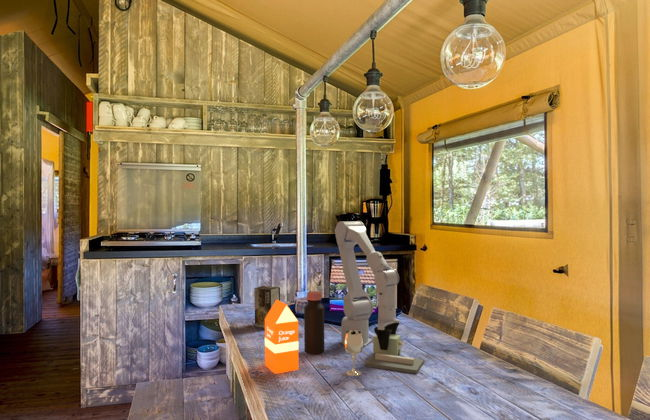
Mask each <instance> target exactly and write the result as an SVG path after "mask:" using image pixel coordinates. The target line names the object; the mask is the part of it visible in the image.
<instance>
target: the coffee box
mask: <svg viewBox="0 0 650 420" xmlns="http://www.w3.org/2000/svg"><path fill="white" fill-rule="evenodd" d="M253 289H254V292H253V293H254V327H256V328H263V329H265V318H266V316H267V314H268V313H269V311H270V309H271V308H272V306H273V304H274V303H275V301H276V299H277V300H279V301H281V287H280V286H272V285H261V286H258V287H254V288H253Z"/></svg>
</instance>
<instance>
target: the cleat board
mask: <svg viewBox="0 0 650 420" xmlns="http://www.w3.org/2000/svg"><path fill="white" fill-rule="evenodd" d="M424 361H425V360H424V359H422V358H414V357H408V356H400V355H398V356H394V355H386V354H379V353H374V354H372V355H371V356H370V357H368V359H367V360H366V361H365V362H364V367H368V368H377V369H382V370H383V369H385V370H388V371H389V370H390V371H397V372H404V373H410V374H418V372H420V369H421V368H422V366H423V365H424V364H425V362H424Z"/></svg>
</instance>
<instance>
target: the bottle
mask: <svg viewBox="0 0 650 420" xmlns="http://www.w3.org/2000/svg"><path fill="white" fill-rule="evenodd" d="M306 300H307V303H306V305H305V306H304V308H303V309H304V313H303V314H304V315H303V316H304V318H303V322H304V323H303V324H304V325H303V326H304V335H303V336H304V339H303V340H304V345H303V346H304V350H303V351H304V353H305V354H307V355H311V356H317V355H321V354H323V353H324V352H325V306H324V305H323V304H322V303H321V302H322V292H321V291H313V290H312V291H308V292H306Z"/></svg>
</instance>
